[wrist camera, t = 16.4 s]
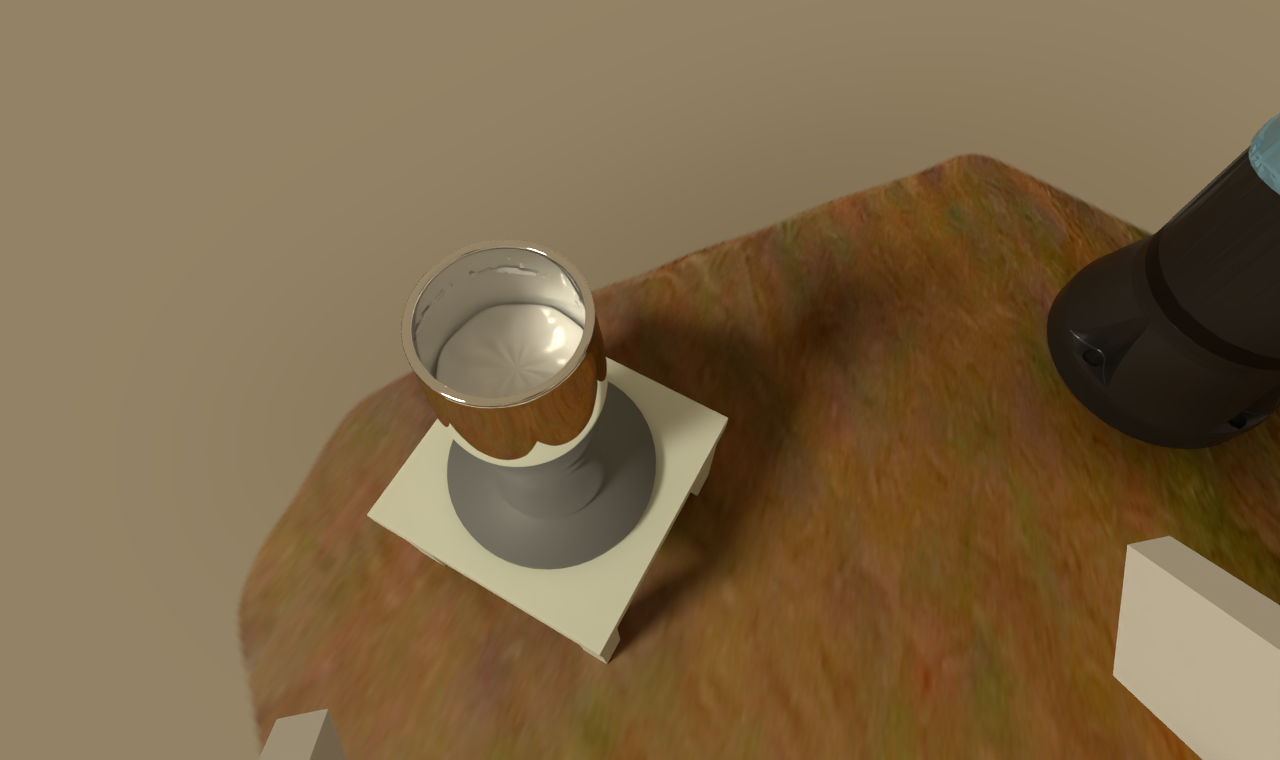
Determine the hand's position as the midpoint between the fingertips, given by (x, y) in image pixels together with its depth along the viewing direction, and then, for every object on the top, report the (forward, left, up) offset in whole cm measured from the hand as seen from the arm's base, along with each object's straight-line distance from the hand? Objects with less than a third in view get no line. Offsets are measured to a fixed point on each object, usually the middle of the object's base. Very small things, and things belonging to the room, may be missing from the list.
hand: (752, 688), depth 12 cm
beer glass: (+11, -7, -23) cm, 27 cm away
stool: (+11, -7, -34) cm, 36 cm away
